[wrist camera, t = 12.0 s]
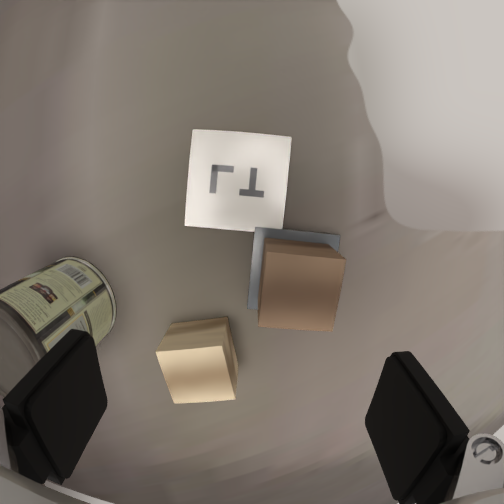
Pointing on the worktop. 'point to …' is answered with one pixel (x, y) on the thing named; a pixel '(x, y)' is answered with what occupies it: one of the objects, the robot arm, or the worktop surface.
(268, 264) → the walnut block
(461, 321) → the worktop surface
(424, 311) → the worktop surface
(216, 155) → the tile
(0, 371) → the coffee can
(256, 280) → the slate coaster
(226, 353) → the maple block
